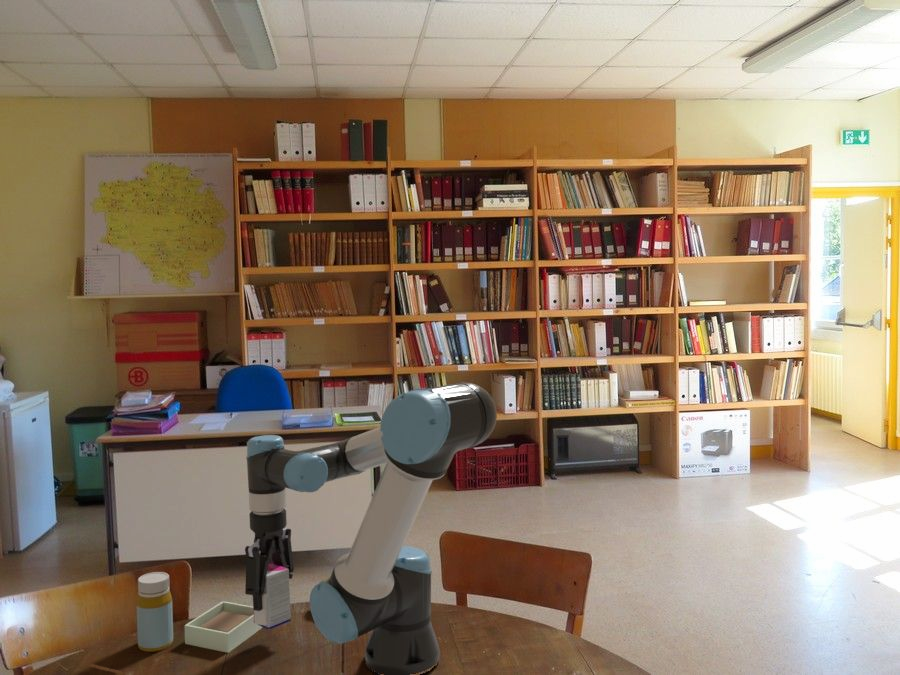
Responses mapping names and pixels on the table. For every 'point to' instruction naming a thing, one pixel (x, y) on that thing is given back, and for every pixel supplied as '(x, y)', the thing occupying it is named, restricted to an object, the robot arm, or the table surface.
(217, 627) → the walnut block
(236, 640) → the box
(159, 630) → the bottle
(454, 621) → the table surface
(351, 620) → the robot arm
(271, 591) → the supplement box
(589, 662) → the table surface
